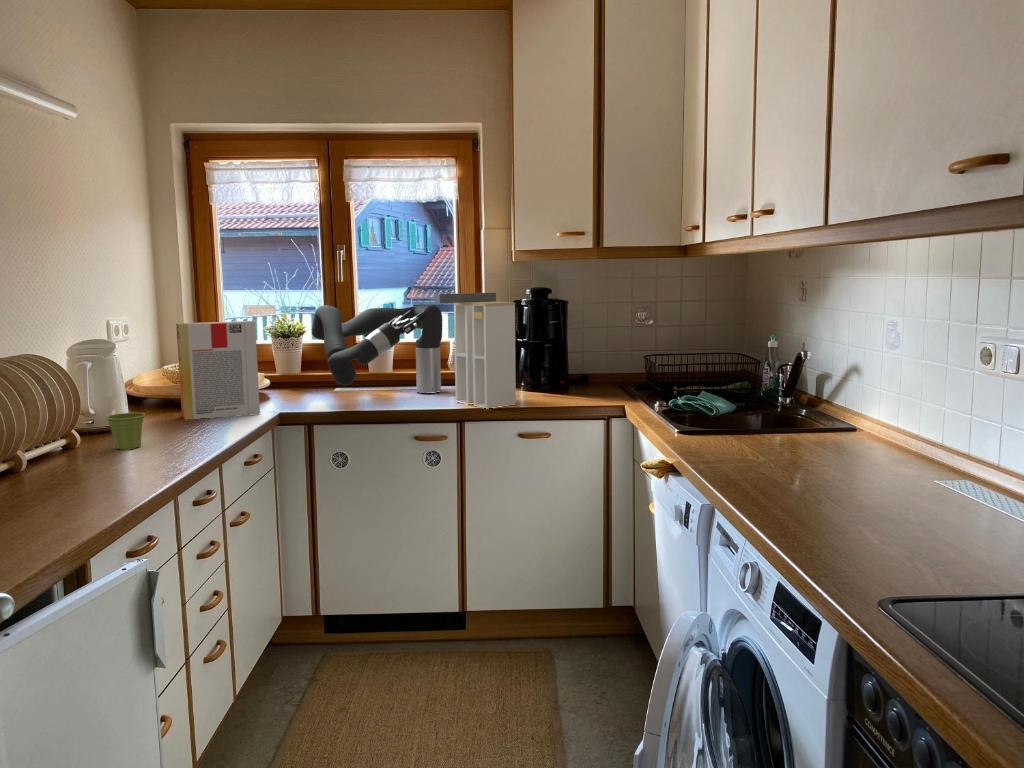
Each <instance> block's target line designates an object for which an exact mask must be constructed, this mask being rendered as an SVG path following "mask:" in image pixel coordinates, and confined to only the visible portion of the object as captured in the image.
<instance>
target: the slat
mask: <svg viewBox="0 0 1024 768" xmlns="http://www.w3.org/2000/svg"><path fill="white" fill-rule="evenodd" d="M434 297H435V298H434V302H435V304H454V303H463V302H497V292H469V293H468V292H466V293H465V292H463V293H435V294H434Z"/></svg>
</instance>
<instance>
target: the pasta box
mask: <svg viewBox="0 0 1024 768" xmlns="http://www.w3.org/2000/svg"><path fill="white" fill-rule="evenodd" d="M175 323H176V324H175V326H176V341H177V343H176V344H177V345H176V346H177V356H178V373H179V391H180V403H181V404H180V405H181V417H182V416H183V417H182V419H183V418H184V419H197V418H210V419H215V418H214V417H222V418H226V417H225V416H234V417H237V416H236V415H246V416H251V415H250V414H258V415H260V414H261V408H260V407H261V406H260V386H259V385H260V384H259V369H258V367H259V366H258V365H259V364H258V349H257V348H258V347H257V329H256V321H252V320H238V321H236V320H235V321H215V322H214V321H211V322H209V321H207V322H205V321H204V322H181V323H180V322H179V323H178V322H175ZM259 413H260V414H259ZM184 419H183V420H184Z"/></svg>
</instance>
